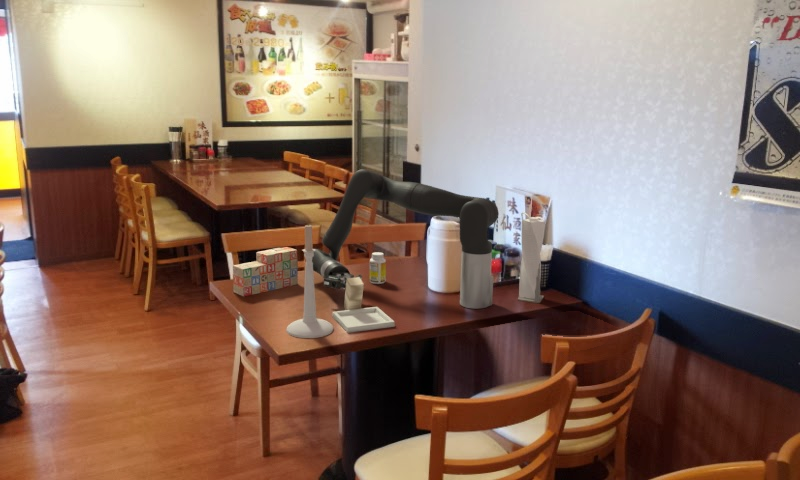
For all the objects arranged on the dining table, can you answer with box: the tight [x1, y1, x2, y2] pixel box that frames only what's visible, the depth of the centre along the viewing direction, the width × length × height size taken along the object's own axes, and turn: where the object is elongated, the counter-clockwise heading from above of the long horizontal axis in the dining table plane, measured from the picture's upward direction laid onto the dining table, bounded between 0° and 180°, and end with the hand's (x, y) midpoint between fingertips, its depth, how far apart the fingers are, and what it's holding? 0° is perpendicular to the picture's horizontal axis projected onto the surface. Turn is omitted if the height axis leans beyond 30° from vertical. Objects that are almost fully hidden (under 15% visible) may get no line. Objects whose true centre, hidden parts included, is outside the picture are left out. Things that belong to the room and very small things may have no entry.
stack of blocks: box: [232, 246, 299, 297], centre depth 224 cm, size 21×6×12 cm, turn 135°
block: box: [343, 276, 365, 310], centre depth 201 cm, size 4×4×10 cm
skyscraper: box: [517, 211, 546, 304], centre depth 216 cm, size 8×8×28 cm
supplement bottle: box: [369, 251, 387, 285], centre depth 233 cm, size 6×6×10 cm
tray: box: [332, 306, 396, 333], centre depth 195 cm, size 14×14×2 cm
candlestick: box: [286, 223, 334, 339], centre depth 185 cm, size 13×13×30 cm
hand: (351, 288), depth 203 cm, fingers closed
